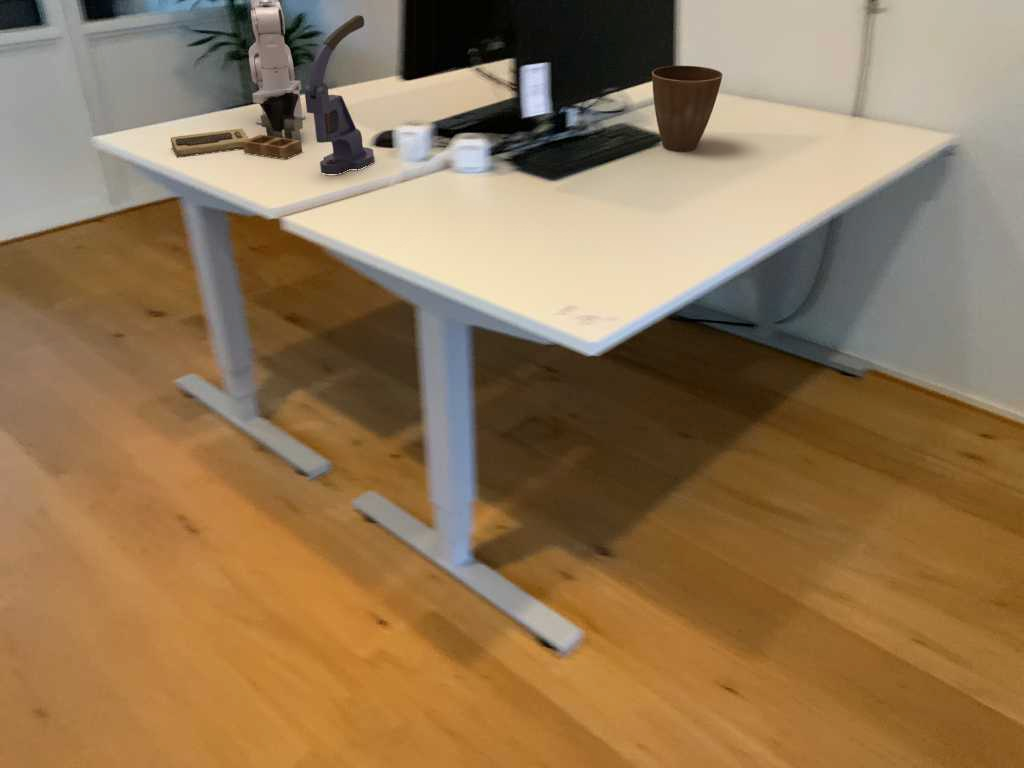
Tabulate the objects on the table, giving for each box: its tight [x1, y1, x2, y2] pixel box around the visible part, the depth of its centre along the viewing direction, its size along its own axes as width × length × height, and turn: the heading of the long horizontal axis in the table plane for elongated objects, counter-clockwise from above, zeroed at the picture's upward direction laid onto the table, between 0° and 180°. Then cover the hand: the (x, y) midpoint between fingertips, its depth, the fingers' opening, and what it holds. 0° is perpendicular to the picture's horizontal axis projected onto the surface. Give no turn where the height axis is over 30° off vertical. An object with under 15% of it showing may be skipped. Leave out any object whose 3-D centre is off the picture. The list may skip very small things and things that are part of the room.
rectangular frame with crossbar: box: [242, 134, 303, 160], centre depth 185 cm, size 6×11×2 cm, turn 65°
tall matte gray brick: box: [260, 114, 304, 142], centre depth 192 cm, size 3×9×6 cm, turn 65°
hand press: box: [304, 14, 375, 174], centre depth 172 cm, size 19×9×28 cm, turn 155°
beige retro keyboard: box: [170, 128, 250, 158], centre depth 188 cm, size 16×8×3 cm, turn 117°
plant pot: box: [651, 65, 723, 152], centre depth 187 cm, size 15×15×16 cm
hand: (282, 129), depth 193 cm, fingers closed on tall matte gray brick, 3 cm apart
